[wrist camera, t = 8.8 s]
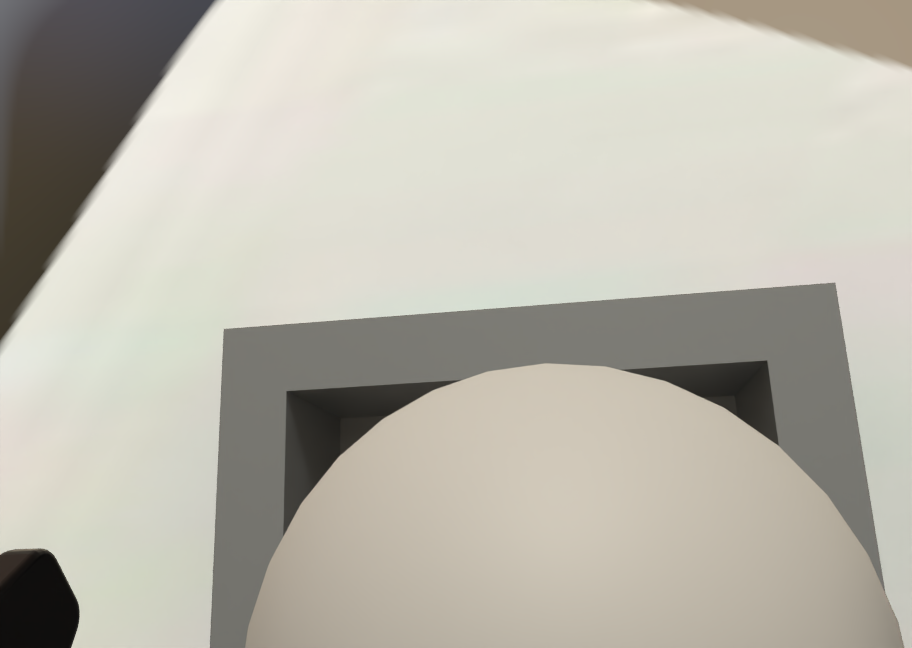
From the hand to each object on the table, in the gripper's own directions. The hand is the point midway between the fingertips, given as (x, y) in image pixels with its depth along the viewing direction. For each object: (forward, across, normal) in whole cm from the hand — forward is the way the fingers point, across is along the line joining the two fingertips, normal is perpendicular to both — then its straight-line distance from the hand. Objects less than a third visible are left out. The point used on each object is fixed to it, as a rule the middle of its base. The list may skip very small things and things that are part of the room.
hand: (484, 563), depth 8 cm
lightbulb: (+5, -1, +7) cm, 9 cm away
